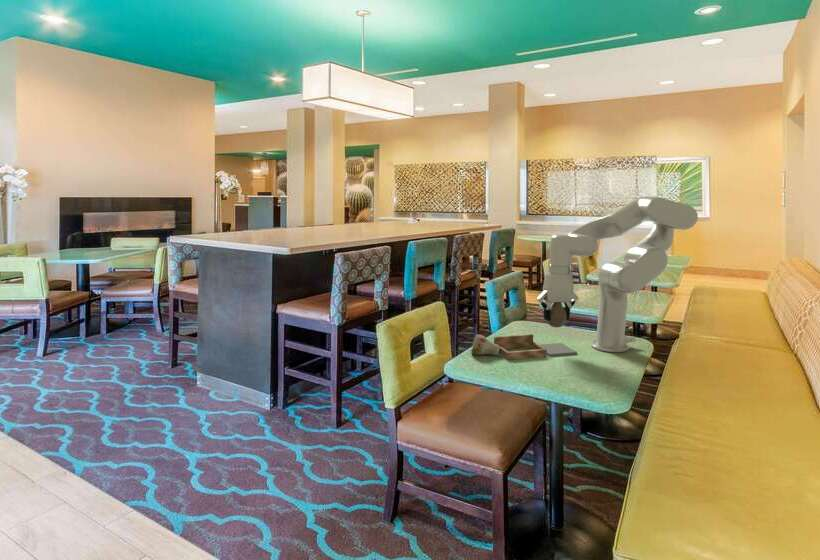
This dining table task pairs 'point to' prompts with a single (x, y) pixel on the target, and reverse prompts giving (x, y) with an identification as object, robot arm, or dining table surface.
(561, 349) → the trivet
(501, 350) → the wooden frame
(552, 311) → the vase
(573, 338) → the dining table surface
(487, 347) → the mug
